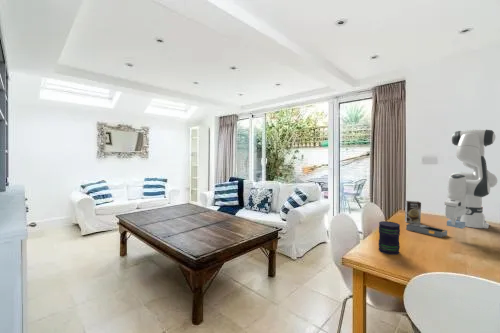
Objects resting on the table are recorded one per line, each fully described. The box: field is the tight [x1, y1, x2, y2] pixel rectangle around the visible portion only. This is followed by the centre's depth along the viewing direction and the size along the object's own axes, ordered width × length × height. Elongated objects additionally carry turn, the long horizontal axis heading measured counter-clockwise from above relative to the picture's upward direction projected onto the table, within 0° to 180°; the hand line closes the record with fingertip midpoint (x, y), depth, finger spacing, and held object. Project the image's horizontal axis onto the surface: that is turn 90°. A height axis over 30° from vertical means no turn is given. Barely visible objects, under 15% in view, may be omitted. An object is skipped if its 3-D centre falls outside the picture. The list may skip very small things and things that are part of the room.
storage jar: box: [378, 220, 401, 256], centre depth 130 cm, size 10×10×15 cm
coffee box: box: [404, 200, 422, 224], centre depth 187 cm, size 9×6×16 cm
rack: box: [405, 223, 448, 239], centre depth 162 cm, size 8×20×4 cm, turn 32°
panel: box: [446, 219, 466, 229], centre depth 149 cm, size 5×8×3 cm, turn 31°
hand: (455, 223), depth 149 cm, fingers closed on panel, 5 cm apart
